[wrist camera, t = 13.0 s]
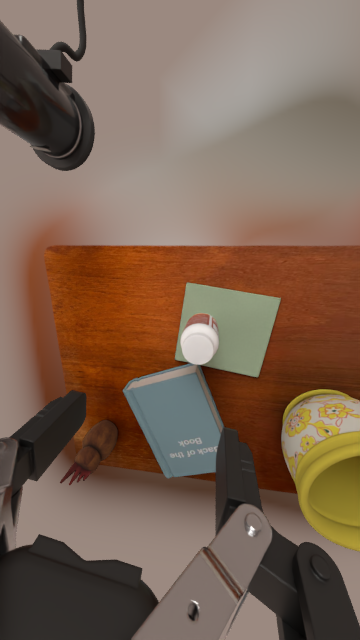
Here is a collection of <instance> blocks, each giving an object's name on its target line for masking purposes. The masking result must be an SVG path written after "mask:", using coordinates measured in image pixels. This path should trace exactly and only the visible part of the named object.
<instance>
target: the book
mask: <svg viewBox="0 0 360 640" xmlns="http://www.w3.org/2000/svg"><path fill="white" fill-rule="evenodd" d="M123 393H124V395H125V397H126V399H127V401H128V403H129V405H130V407H131V409H132V411H133V413H134V415H135V417H136V419H137V421H138V423H139V425H140V427H141V429H142V431H143V433H144V435H145V437H146V439H147V441H148V443H149V445H150V447H151V449H152V451H153V453H154V455H155V457H156V459H157V461H158V463H159V465H160V467H161V469H162V471H163V473H164V475H165V476H166V477H167V478H171V477H172V476H174V477H179V476H188V475H195V474H203V473H211V472H216V454H217V448H218V444H219V440H220V436H221V432H222V429H223V427H224V425H223V422H222V420H221V417H220V415H219V412H218V410H217V407H216V405H215V402H214V400H213V397H212V395H211V392H210V389H209V387H208V384H207V382H206V379H205V377H204V374H203V372H202V369H201V367H200V365H196V364H192V363H190V364H186V365H182V366H179V367H175V368H171V369H168V370H164V371H160V372H157V373H153V374H149V375H146V376H142V377H140V378H135V379H133V380H131V381H129V382H128V384H127V385H126V387H125V388H124V389H123Z"/></svg>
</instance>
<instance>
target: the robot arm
mask: <svg viewBox="0 0 360 640" xmlns="http://www.w3.org/2000/svg"><path fill="white" fill-rule="evenodd" d="M77 10H78V21H79V31H80V44H79V48H78V50H77V51H76V52H74V51H73V50H72V49H71V48H70V46H68V45H67V44H66V43H64V42H57V43H56V44H54V45H53V46H52V47H51V49H50V50H36V49H35V48H34V47H33V46H32V45H31V43H30V42H29V41H28V40H27V39H26V38H25V37H24V36H22V35H13V34H12V33H11V32H10V31H9V30H8V28H7V27H6V26H5V25H4V24H3V23H2V22H1V21H0V125H1V126H3V127H5V128H6V129H8V130H9V131H11V132H12V133H14V134H16V135H17V136H19V137H20V138H22V139H23V140H25V141H27V142H28V143H30V144H31V145H33V146H35V147H33V146H30V147H32V148H34V149H37V150H40V151H42V152H43V153H45V154H46V155H48V156H50V157H51V158H54V159H66V158H68V157H70V156H72V155H73V154H74V153H75V152H76V150H77V149H78V147H79V146H80V143H81V140H82V136H83V120H82V116H81V113H80V110H79V108H78V106H77V105H76V103H75V95H74V94H73V92H72V91H71V90H70V89H69V88H68V87H67V85H66V84H65V83H72V65H71V64H70V62H69V61H68V60H67V58H66V57H65V56H64V54H63V53H62V52H66V53H67V54H68V55H69V56H70V57H71V58H72V59H73V60H74V61H80V60H81V59H82V57H83V55H84V53H85V49H86V28H85V17H84V0H77ZM85 417H86V394H85V393H83V392H78V391H74V390H72V391H70V392H69V393H68V394H67V395H66V396H65V397H64V398H62V397H60V398H57V399H55V400H53V401H51V402H50V403H49V404H48V405H46V406H45V407H44V408H43V410H41V411H40V412H38V413H37V414H36V416H34V417H33V418H31V419H30V420H29V421H28V422H27V423H26V424H24V426H22V427H21V428H20V429H19V430H18V431H17V432H15V433H14V434H13V435H12V436H11V437H9V438H1V439H0V640H225V639H226V636H227V635H228V633H229V631H230V629H231V627H232V625H233V623H234V621H235V619H236V617H237V615H238V613H239V611H240V609H241V607H242V605H243V603H244V601H245V599H246V597H247V595H248V593H249V592H250V593H251V594H252V595H253V596H255V597H256V598H257V599H258V600H260V601H261V602H262V603H263V604H264V605H266V606H267V607H268V608H269V609H271V610H272V611H273V612H274V613H276V617H277V625H278V633H279V640H360V626H359V623H358V620H357V617H356V615H355V612H354V609H353V606H352V603H351V600H350V598H349V595H348V592H347V589H346V586H345V584H344V581H343V578H342V575H341V573H340V571H339V569H338V567H337V566H336V564H335V562H334V561H333V560H332V559H331V557H330V556H329V555H328V554H327V553H326V552H325V551H324V550H323V549H321V548H320V547H319V546H317V545H315V544H313V543H309V542H304V543H301V544H300V545H299V547H298V546H297V545H295V544H294V543H292V542H291V541H289V540H288V539H286V538H285V537H283V536H282V535H280V534H279V533H278V532H277V531H276V530H274V528H273V527H272V526H271V525H270V523H269V521H268V519H267V517H266V516H265V515H264V513H263V510H262V506H261V500H260V495H259V489H258V484H257V478H256V474H255V467H254V462H253V456H252V452H251V451H250V449H249V447H248V446H247V444H246V443H242V442H239V439H238V432H237V430H234V429H230V428H226V427H223V429H222V432H221V436H220V440H219V444H218V448H217V454H216V536H215V538H214V539H213V541H212V542H211V543H210V544H209V546H208V547H203V548H202V549H201V550H200V551H199V552H198V553H197V554H196V556H195V557H194V558H193V560H192V561H191V562H190V563H189V565H188V566H187V567H186V569H185V570H184V571H183V572H182V574H181V575H180V576H179V578H178V579H177V580H176V581H175V583H174V584H173V585H172V587H171V588H170V589H169V591H168V592H167V593H166V594H165V596H164V597H163V598H162V599H161V601H160V602H158V600H157V598H156V597H155V595H154V593H153V592H152V590H151V589H150V588H149V587H148V586H147V585H146V584H145V583H144V582H143V581H142V580H141V574H142V568H140V567H137V566H134V565H131V564H128V563H124V562H121V561H118V560H96V561H86V560H83V559H82V558H81V557H80V556H79V555H77V554H76V553H75V552H74V551H73V550H72V549H71V548H69V547H68V546H67V545H66V544H65V543H64V542H61V541H58V540H55V539H52V538H49V537H46V536H43V535H40V534H39V535H38V537H37V539H36V540H35V542H34V543H33V545H26V546H22V547H19V548H16V531H17V524H18V517H19V510H20V503H21V496H22V490H23V486H22V485H23V484H24V483H25V482H26V481H27V479H31V480H34V481H38V479H39V478H40V477H41V476H42V474H43V473H44V472H45V471H46V469H47V468H48V467H49V466H50V464H51V463H52V462H53V460H54V459H55V458H56V457H57V455H58V454H59V453H60V452H61V451H62V449H63V448H64V447H65V446H66V444H67V443H68V442H69V441H70V440H71V438H72V437H73V436H74V435H75V433H76V432H77V431H78V430H79V428H80V427H81V426H82V424H83V422H84V420H85Z"/></svg>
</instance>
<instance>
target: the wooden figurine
mask: <svg viewBox="0 0 360 640" xmlns="http://www.w3.org/2000/svg"><path fill="white" fill-rule="evenodd" d="M117 437H118V430H117V428H116V426H115V425H114V424H113V423H112V422H111V421H108V420H103V421H101V422H99V423H97V424H96V425H95V426H94V427H92V428H91V429H90V431H89V432H88V433H87V434H86V436H85V438H84V440H83V448H82V449H81V450H80V451H79V452H78V454H77V455H76V458H75V461H74V464H73V465H72V467H71V468H70V469H69V471H68V472H67V473H66V475H65V476H64V478H63V479H62V480H61V482H60V483H62V482H63V481H64V480H65V479H67V478H68V477H69V476H70V475H71V474H72V473H73V472H74V471H75V473H74V475H73V477H72V479H71V481H70V483H69V485H71V484H72V482H73V481H74V480H75V479H76V478H77V476H78V475H79V474H80V475H79V478H78V480H77V482H79V481H80V479H81V478H82V477H83V476H84V477H83V481H84V480H85V479H86V478H87V477H88V476H89V474H92V473H93V472H94V471H95V470H96V469H97V467H98V465H99V463H100V461H102V460H104V459H106V458H107V457H108V456H109V454H110V453H111V452H112V450H113V449H114V447H115V445H116V442H117Z"/></svg>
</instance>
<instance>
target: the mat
mask: <svg viewBox="0 0 360 640" xmlns="http://www.w3.org/2000/svg"><path fill="white" fill-rule="evenodd" d="M280 300H281V299H280V298H276V297H270V296H264V295H258V294H252V293H246V292H240V291H235V290H229V289H223V288H217V287H211V286H205V285H199V284H193V283H187V284H186V290H185V297H184V303H183V310H182V316H181V322H180V329H179V335H178V342H177V348H176V354H175V360H179V361H184V362H188V361H187V360H186V359H185V357H184V356H183V353H182V348H181V343H180V340H181V335H182V333H183V330H184V328H185V326H186V324H187V322H188V320H189V319H190V318H191V317H192V316H193V315H195V314H198V313H206V314H209V315H211V316H212V317H213V318H214V319H215V320H216V322H217V324H218V333H219V346H218V349H217V352H216V353H215V354H214V355H213V356H212V358H211V359H210V361H208V362H207V363H205V364H202V366H207V367H211V368H216V369H221V370H225V371H230V372H235V373H239V374H244V375H249V376H253V377H258V376H259V373H260V370H261V366H262V363H263V359H264V356H265V352H266V349H267V345H268V342H269V338H270V335H271V331H272V328H273V325H274V321H275V318H276V314H277V311H278V307H279V304H280ZM188 363H190V362H188Z"/></svg>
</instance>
